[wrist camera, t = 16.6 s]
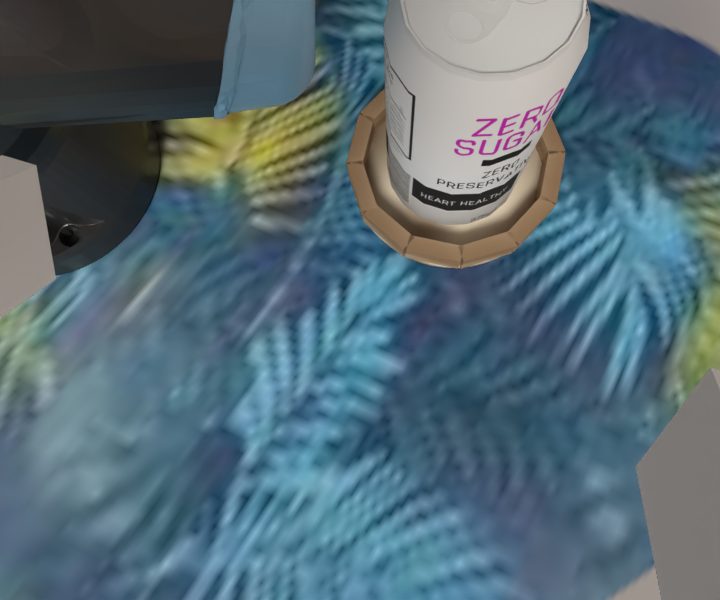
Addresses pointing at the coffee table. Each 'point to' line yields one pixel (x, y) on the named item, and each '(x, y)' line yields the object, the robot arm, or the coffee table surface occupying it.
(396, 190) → the supplement can
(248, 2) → the robot arm
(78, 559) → the coffee table surface
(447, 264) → the ring coaster
